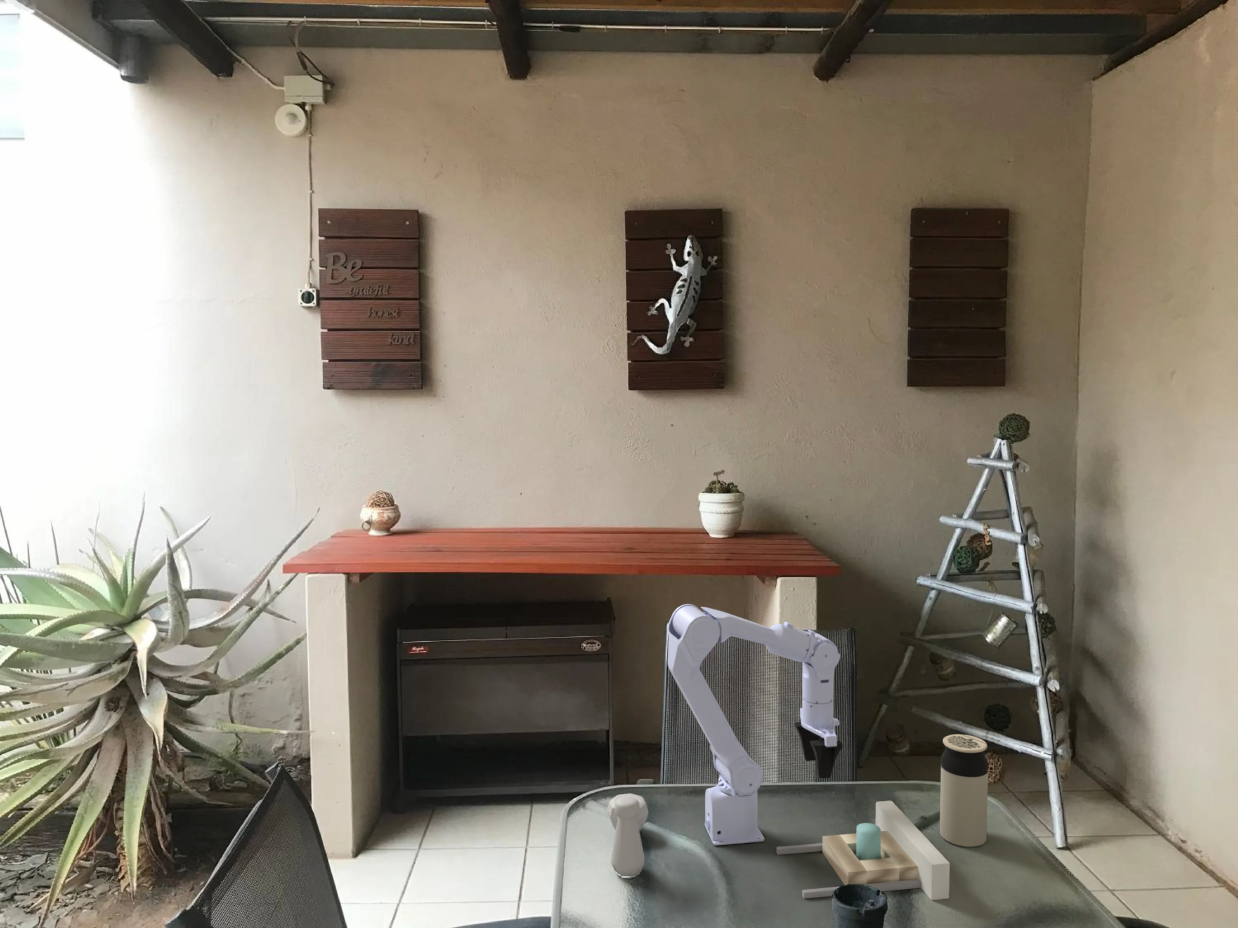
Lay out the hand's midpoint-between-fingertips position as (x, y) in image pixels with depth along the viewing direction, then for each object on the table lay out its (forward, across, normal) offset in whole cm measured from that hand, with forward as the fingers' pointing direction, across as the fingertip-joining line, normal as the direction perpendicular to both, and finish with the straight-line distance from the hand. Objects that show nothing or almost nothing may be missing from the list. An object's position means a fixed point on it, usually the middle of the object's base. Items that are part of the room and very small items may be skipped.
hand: (817, 768), depth 172 cm
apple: (+11, +2, +36) cm, 38 cm away
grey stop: (+10, -17, -1) cm, 20 cm away
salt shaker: (+11, -12, +38) cm, 41 cm away
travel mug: (+11, -10, -24) cm, 28 cm away
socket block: (+10, -17, -3) cm, 20 cm away
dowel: (+10, -17, -3) cm, 20 cm away
